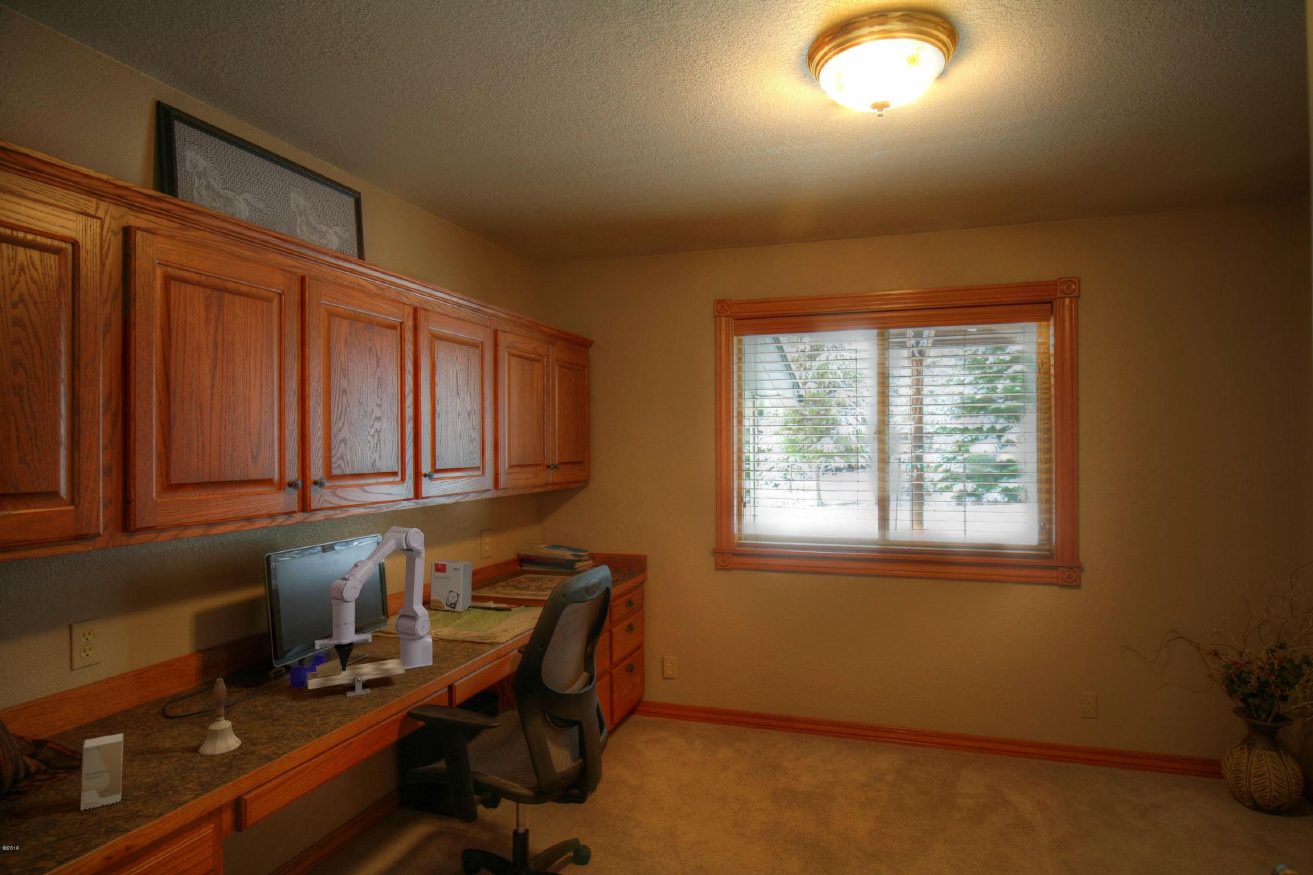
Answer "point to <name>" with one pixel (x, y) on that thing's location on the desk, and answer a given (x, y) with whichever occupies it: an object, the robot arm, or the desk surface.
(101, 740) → the skincare box
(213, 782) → the desk surface
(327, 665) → the block
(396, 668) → the balance beam
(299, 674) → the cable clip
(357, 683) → the pivot stand
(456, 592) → the hard drive box
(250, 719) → the desk surface
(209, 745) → the hand bell
